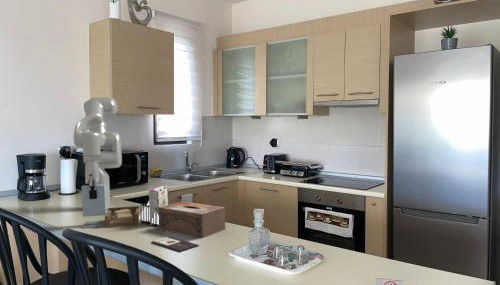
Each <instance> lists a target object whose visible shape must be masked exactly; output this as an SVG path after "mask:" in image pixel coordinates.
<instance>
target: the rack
mask: <svg viewBox="0 0 500 285" xmlns="http://www.w3.org/2000/svg"><path fill="white" fill-rule="evenodd" d="M124 209H129V210H131V214H132V215H133V221H132V222H118V223H113V221H112V216H114V211H119V210H124ZM139 214H141V212H140V205H134V206H133V205H132V206H131V205H130V206H119V207H118V206H116V207H113V208H108V209H107V214H106V215H104V220H105V227H104V228H116V227H130V226H132V225H133V226H138V225H139V223H140V219H139Z"/></svg>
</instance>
